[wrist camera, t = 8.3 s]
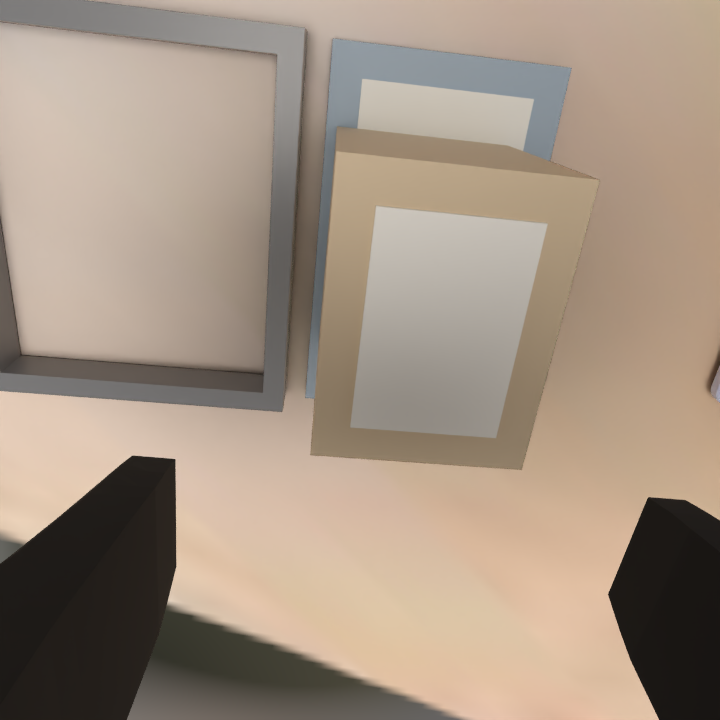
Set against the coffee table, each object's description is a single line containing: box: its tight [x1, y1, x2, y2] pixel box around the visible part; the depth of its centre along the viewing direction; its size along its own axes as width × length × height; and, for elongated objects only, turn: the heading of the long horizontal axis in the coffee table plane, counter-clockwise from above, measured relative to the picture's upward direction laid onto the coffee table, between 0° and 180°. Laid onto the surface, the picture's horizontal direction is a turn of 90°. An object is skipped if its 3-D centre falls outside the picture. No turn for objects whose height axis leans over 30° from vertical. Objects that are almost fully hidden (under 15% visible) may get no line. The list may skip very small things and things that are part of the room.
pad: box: [305, 39, 571, 399], centre depth 17 cm, size 6×10×1 cm, turn 174°
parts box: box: [310, 126, 600, 470], centre depth 14 cm, size 4×6×6 cm
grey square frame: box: [0, 0, 307, 412], centre depth 16 cm, size 9×10×1 cm
